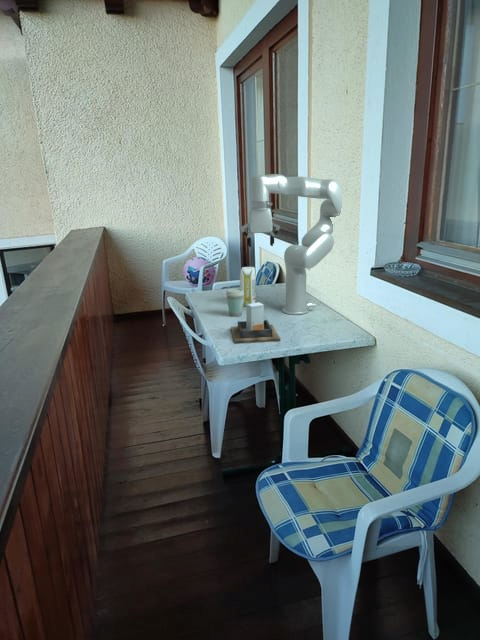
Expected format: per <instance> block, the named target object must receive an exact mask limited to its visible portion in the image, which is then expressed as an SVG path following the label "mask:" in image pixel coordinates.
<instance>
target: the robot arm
mask: <svg viewBox="0 0 480 640" xmlns="http://www.w3.org/2000/svg"><path fill="white" fill-rule="evenodd" d="M341 186H342V185H341V184H340V182H338V180H336V179H321V178H314V177H307V176H285V175H283V174H281V173H279V174H278V173H275V174H274V173H271V174H270V173H269V174H256V175H252V176H251V177H250V203H251V204H250V205H251V206H250V209H249V210H248V216H247V217H248V220H247V221H248V223H245V224H244V225H242V226H241V227H240V231H241V233H242V234H243V235H244V236H245V237H246V243H247V244H246V245H247V246H248V247H249V248H252V238H251V237H252V235H253V234H267V233H269V234H270V236H269V245H270V247H273V246H274V244H275V236H277V234H278V233H279V231H280V229H281V225H279V224H278V223H277V224H276V223H275V222H273V217H272V216H273V215H272V208H270V207H272V206H273V202H271V201H270V194H277V195H284V196H285V195H286V196H293V197H299V198H308V199H309V198H310V199H318V200H319V199H323V201H322V202H321V204H320V206H319V207H320V208H319V220H318V221H317V222H316V223H315V225H314V226H313V227H312V228H311V229H309V230H308V231H307V232H306V233H305V234H304V235H303V237H302V238H301V245H299V244H292V245H291V244H290V245H289V246H287V248H285V251H284V255H283V257H284V258H283V259H284V265H285V306H283V307H282V309H281V310H282V312H283V313H284V314H288V315H293V316H294V315H296V316H299V315H305V314H308V312H309V311H310V310H309V308H316V306H317V305H316V303H315V302H307V270H306V269H309V270H310V269H312V268H315V267H316V266H317V265H318V264H319V263H320V262H321V261H322V260H324V259H325V257H326V256H328V255H329V253H331V251H332V249H333V247H334V244H335V239H334V236H333V235H332V234H333V232H334V231H333V224H332V221H331V219H330V217H334V218H335V217H336V216H339V215H340V213H341V208H342V188H343V187H342V188H341ZM273 227H275V230H274V231H273ZM246 229H247V230H248V232H246Z"/></svg>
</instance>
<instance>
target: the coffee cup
mask: <svg viewBox="0 0 480 640" xmlns="http://www.w3.org/2000/svg"><path fill="white" fill-rule="evenodd" d="M225 296H226V300H227V306H228V307H227V308H228V312H229V317H234V318H236V317H241V316H242V315H243V308H244V307H243V297H244V292H243V290H242V289H240V288H230V289H229V288H228V289H227V290H226V292H225Z"/></svg>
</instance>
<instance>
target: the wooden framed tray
mask: <svg viewBox="0 0 480 640" xmlns="http://www.w3.org/2000/svg"><path fill="white" fill-rule="evenodd" d="M230 331H231V334H232V338H233V342H234V344H235V345H236V344H251V343H252V344H253V343H267V342H268V343H269V342H270V343H271V342H281V337H280V335H279V334H278V332H277V330H276V328H275V326H274V325H273V324H270V322H269V321H268V319H264V329H262V330H247V328H246V320H243V321H237V326H236V325H235V326H230Z"/></svg>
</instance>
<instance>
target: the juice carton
mask: <svg viewBox="0 0 480 640" xmlns="http://www.w3.org/2000/svg"><path fill="white" fill-rule="evenodd" d="M256 275H257V274H256V269H255V266H244V267H243V266H242V267H241V269H240V271H239V289H242V290H243V292H244V297H243V308H246V304H251V303H256V300H257V286H256V285H257V283H256V282H257V277H256Z"/></svg>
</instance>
